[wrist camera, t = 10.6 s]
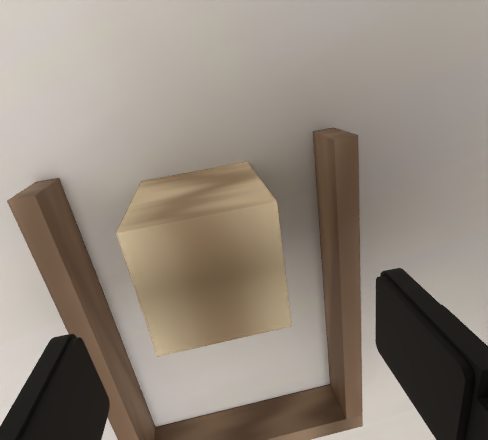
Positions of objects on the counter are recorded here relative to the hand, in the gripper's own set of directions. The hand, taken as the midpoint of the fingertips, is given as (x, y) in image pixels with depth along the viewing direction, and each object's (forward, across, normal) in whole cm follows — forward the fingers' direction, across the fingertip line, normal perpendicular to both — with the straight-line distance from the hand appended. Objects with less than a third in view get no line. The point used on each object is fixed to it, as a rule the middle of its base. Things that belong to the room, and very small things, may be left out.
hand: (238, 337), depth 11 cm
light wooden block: (+10, +1, 0) cm, 10 cm away
